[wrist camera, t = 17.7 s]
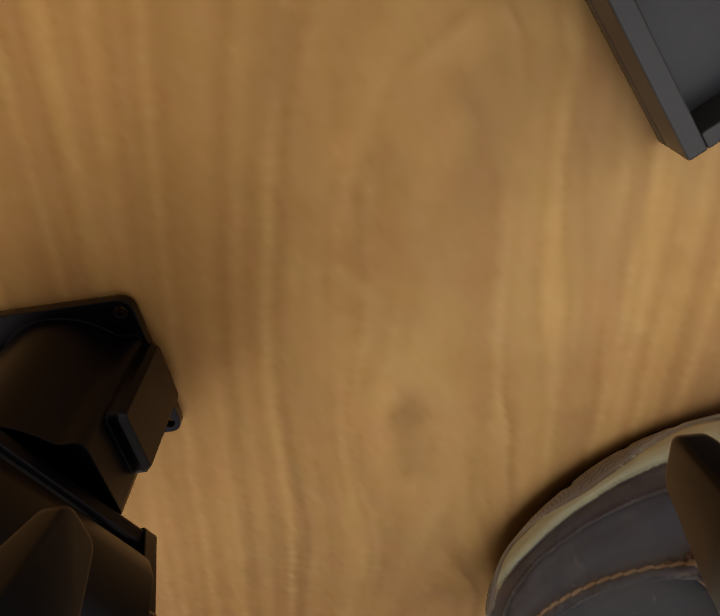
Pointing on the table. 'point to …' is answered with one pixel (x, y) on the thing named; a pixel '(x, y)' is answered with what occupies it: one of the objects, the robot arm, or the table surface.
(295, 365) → the table surface
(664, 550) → the boat shoe
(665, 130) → the tray
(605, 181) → the table surface
